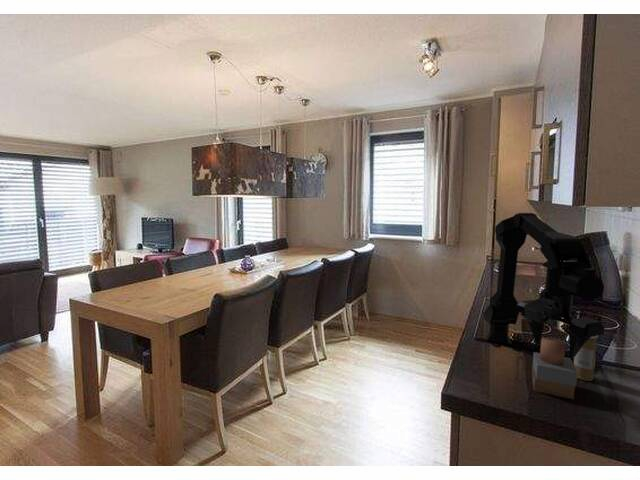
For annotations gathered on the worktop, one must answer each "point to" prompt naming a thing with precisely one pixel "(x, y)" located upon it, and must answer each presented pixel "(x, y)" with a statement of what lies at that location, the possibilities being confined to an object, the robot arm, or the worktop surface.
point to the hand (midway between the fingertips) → (553, 349)
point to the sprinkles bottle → (586, 360)
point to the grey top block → (555, 371)
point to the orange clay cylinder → (552, 351)
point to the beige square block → (552, 387)
